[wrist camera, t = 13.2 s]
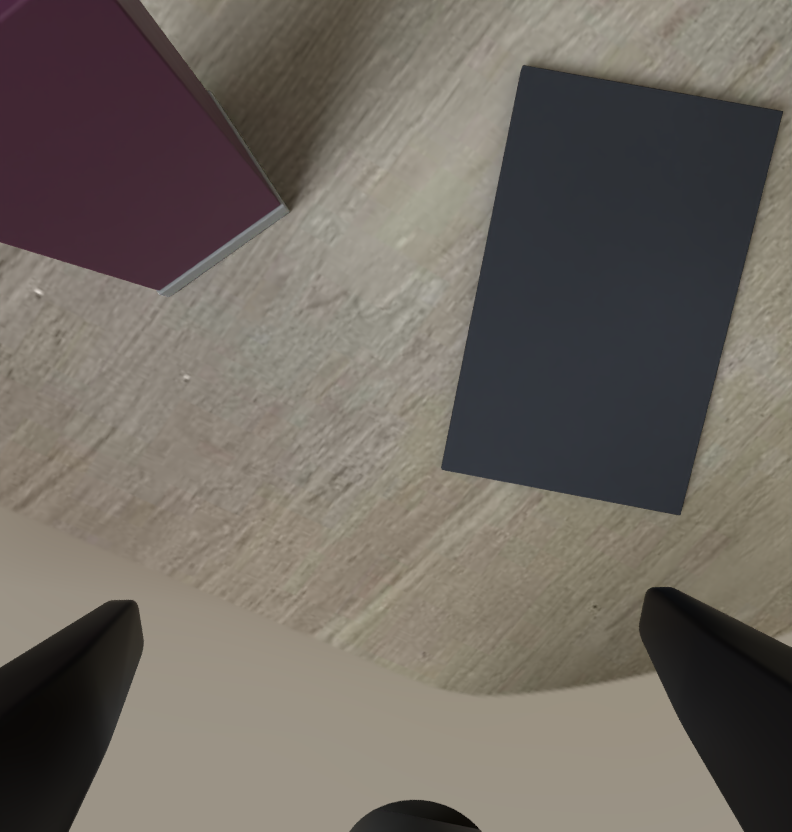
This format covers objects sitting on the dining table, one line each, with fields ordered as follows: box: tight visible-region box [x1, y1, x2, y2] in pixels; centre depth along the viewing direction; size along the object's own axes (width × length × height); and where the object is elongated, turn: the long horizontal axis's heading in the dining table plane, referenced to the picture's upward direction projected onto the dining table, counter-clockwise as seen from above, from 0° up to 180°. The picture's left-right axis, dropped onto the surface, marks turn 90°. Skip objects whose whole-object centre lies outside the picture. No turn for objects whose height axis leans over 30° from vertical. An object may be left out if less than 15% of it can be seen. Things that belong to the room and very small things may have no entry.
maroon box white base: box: [0, 0, 289, 297], centre depth 13 cm, size 5×6×14 cm
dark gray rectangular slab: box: [441, 65, 783, 515], centre depth 20 cm, size 16×10×1 cm, turn 169°
